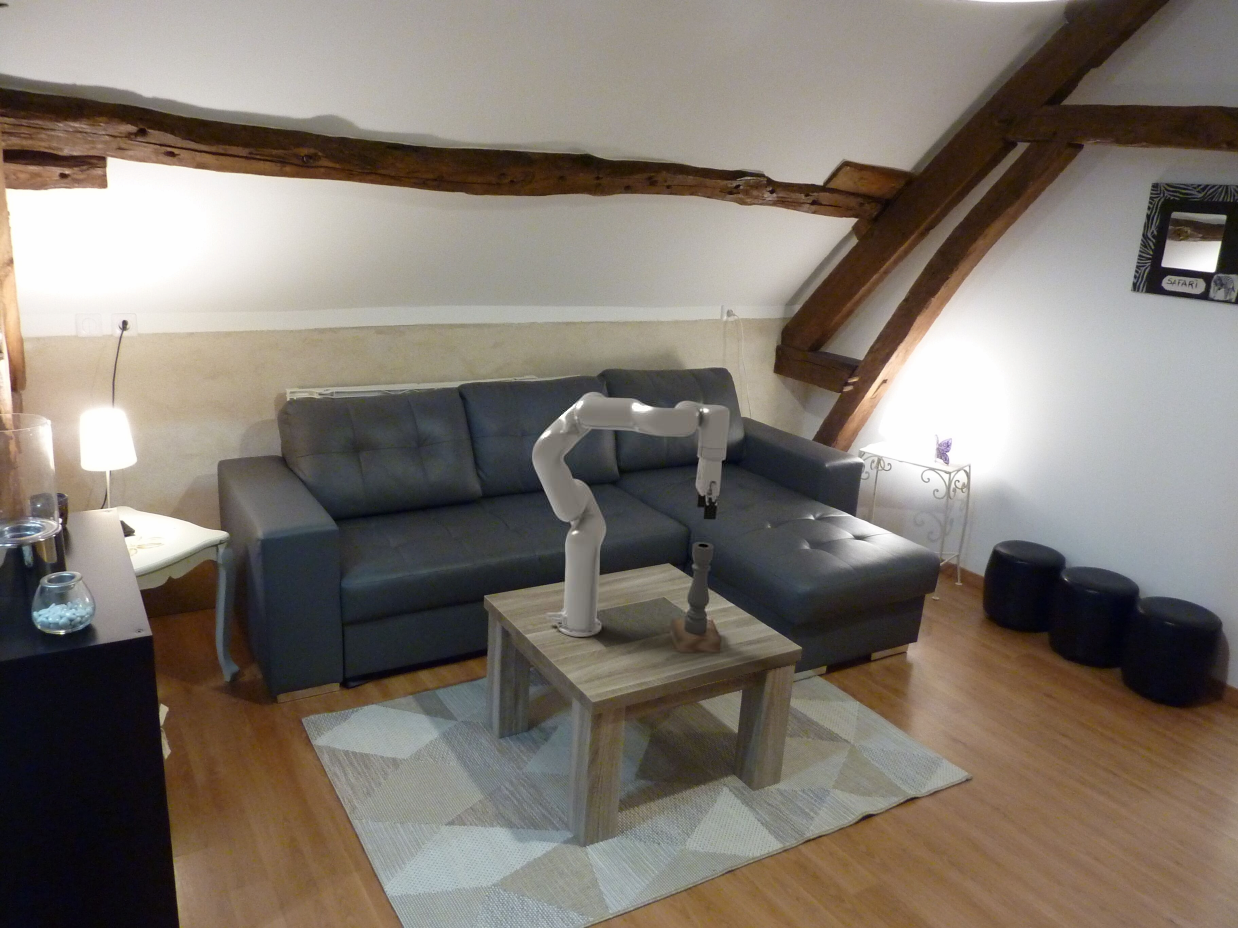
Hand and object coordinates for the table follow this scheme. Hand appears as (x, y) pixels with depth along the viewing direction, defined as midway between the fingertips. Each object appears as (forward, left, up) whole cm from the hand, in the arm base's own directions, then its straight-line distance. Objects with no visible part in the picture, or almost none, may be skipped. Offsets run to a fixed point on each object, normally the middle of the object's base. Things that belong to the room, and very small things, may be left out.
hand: (706, 512), depth 257 cm
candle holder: (0, 0, -34) cm, 34 cm away
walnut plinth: (0, 0, -38) cm, 38 cm away
